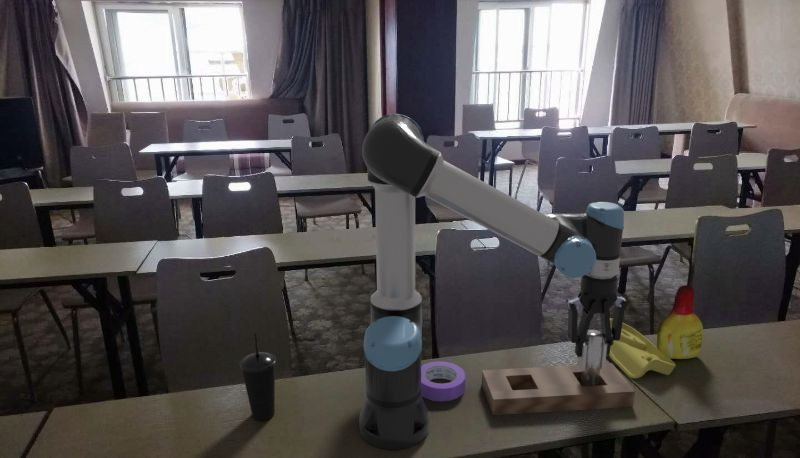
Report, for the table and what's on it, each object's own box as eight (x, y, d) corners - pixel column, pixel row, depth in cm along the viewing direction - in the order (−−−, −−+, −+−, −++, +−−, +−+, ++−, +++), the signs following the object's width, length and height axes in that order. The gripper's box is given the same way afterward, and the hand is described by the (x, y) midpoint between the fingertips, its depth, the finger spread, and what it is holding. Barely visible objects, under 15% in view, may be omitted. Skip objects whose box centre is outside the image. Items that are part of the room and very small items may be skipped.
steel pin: (583, 393, 131) (588, 338, 127) (577, 383, 135) (582, 330, 131) (600, 392, 131) (606, 337, 127) (593, 382, 135) (599, 329, 131)
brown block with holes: (492, 415, 126) (493, 399, 125) (481, 384, 138) (482, 370, 137) (633, 406, 128) (635, 391, 127) (610, 377, 140) (612, 363, 139)
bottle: (660, 364, 145) (670, 292, 139) (648, 351, 151) (657, 282, 145) (705, 361, 146) (717, 289, 140) (691, 349, 152) (702, 279, 146)
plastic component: (680, 367, 140) (650, 357, 136) (663, 391, 141) (634, 382, 138) (631, 325, 158) (604, 315, 154) (618, 347, 159) (591, 338, 156)
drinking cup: (243, 409, 130) (234, 330, 124) (277, 401, 132) (270, 323, 126) (248, 428, 123) (239, 346, 117) (283, 420, 126) (276, 339, 120)
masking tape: (475, 389, 136) (475, 375, 135) (439, 408, 129) (439, 394, 128) (441, 369, 145) (441, 356, 144) (406, 386, 138) (406, 372, 137)
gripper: (567, 281, 120) (560, 378, 127) (645, 278, 121) (634, 374, 128) (556, 268, 127) (549, 360, 134) (629, 265, 128) (619, 357, 136)
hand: (590, 367), depth 131 cm, fingers closed on steel pin, 4 cm apart
